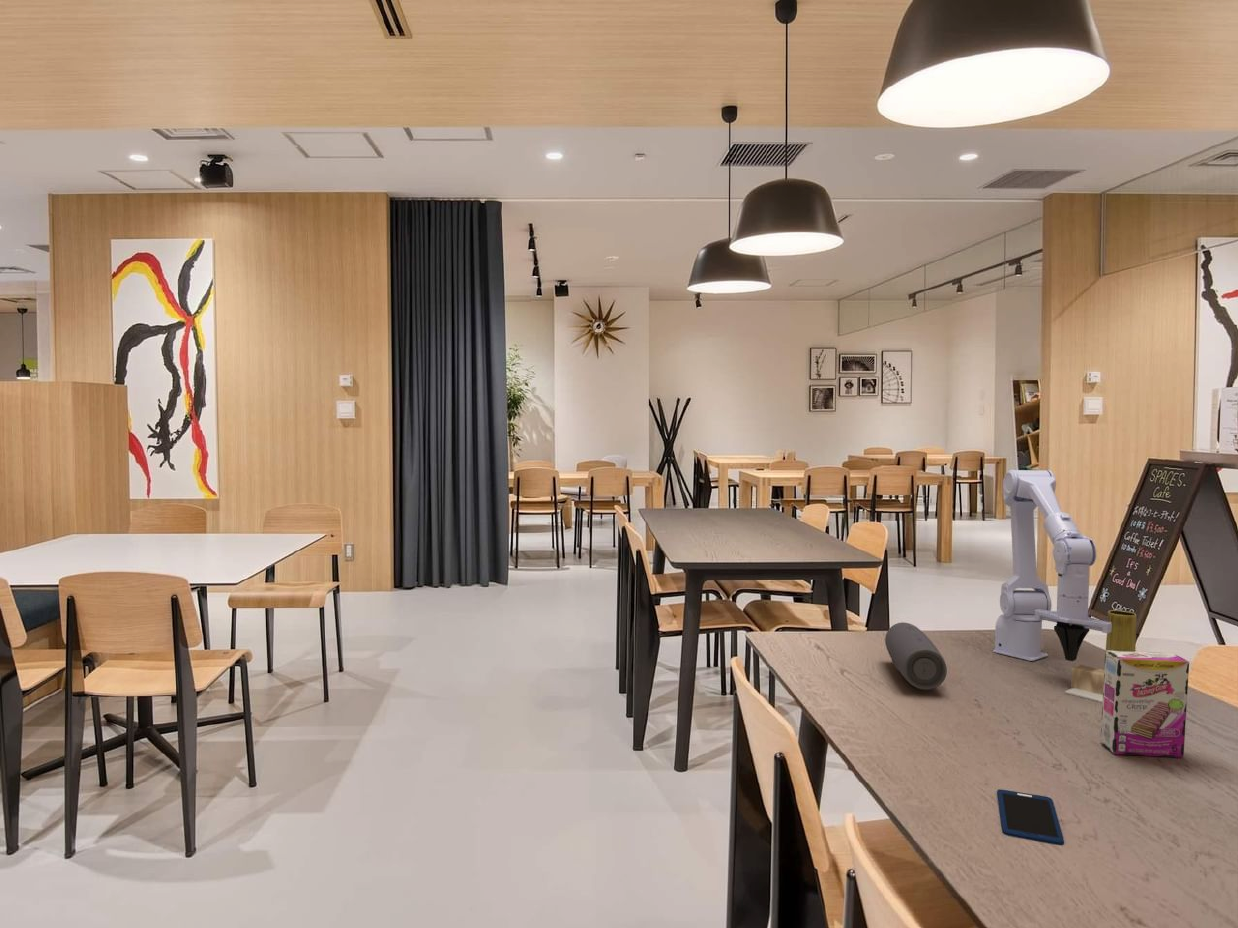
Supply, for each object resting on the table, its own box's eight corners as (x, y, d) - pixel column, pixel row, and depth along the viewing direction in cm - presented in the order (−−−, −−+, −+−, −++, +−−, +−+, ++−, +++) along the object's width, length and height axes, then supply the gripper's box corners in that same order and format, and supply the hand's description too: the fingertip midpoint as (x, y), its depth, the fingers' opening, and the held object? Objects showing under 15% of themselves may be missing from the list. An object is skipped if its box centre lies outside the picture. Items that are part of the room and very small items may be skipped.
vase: (1142, 682, 170) (1145, 616, 169) (1113, 682, 170) (1116, 615, 169) (1125, 673, 176) (1127, 609, 175) (1097, 673, 176) (1099, 609, 175)
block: (1071, 667, 165) (1113, 677, 159) (1080, 664, 168) (1122, 674, 161) (1070, 686, 166) (1113, 697, 159) (1079, 683, 168) (1121, 693, 162)
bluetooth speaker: (949, 697, 160) (951, 648, 159) (901, 694, 161) (902, 645, 161) (924, 663, 182) (925, 620, 182) (882, 661, 183) (883, 618, 183)
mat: (1064, 692, 163) (1065, 691, 163) (1091, 681, 170) (1091, 680, 170) (1113, 705, 155) (1113, 703, 155) (1138, 693, 163) (1138, 691, 163)
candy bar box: (1114, 755, 132) (1118, 657, 131) (1099, 743, 137) (1102, 649, 136) (1186, 759, 131) (1190, 660, 130) (1168, 746, 136) (1172, 651, 135)
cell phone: (1051, 801, 116) (1052, 796, 116) (1065, 848, 103) (1065, 842, 103) (996, 792, 119) (996, 787, 119) (1002, 837, 106) (1002, 831, 106)
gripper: (1028, 591, 170) (1026, 654, 171) (1101, 604, 159) (1099, 671, 159) (1044, 587, 174) (1042, 649, 175) (1117, 599, 163) (1114, 665, 163)
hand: (1070, 659), depth 167 cm, fingers closed
